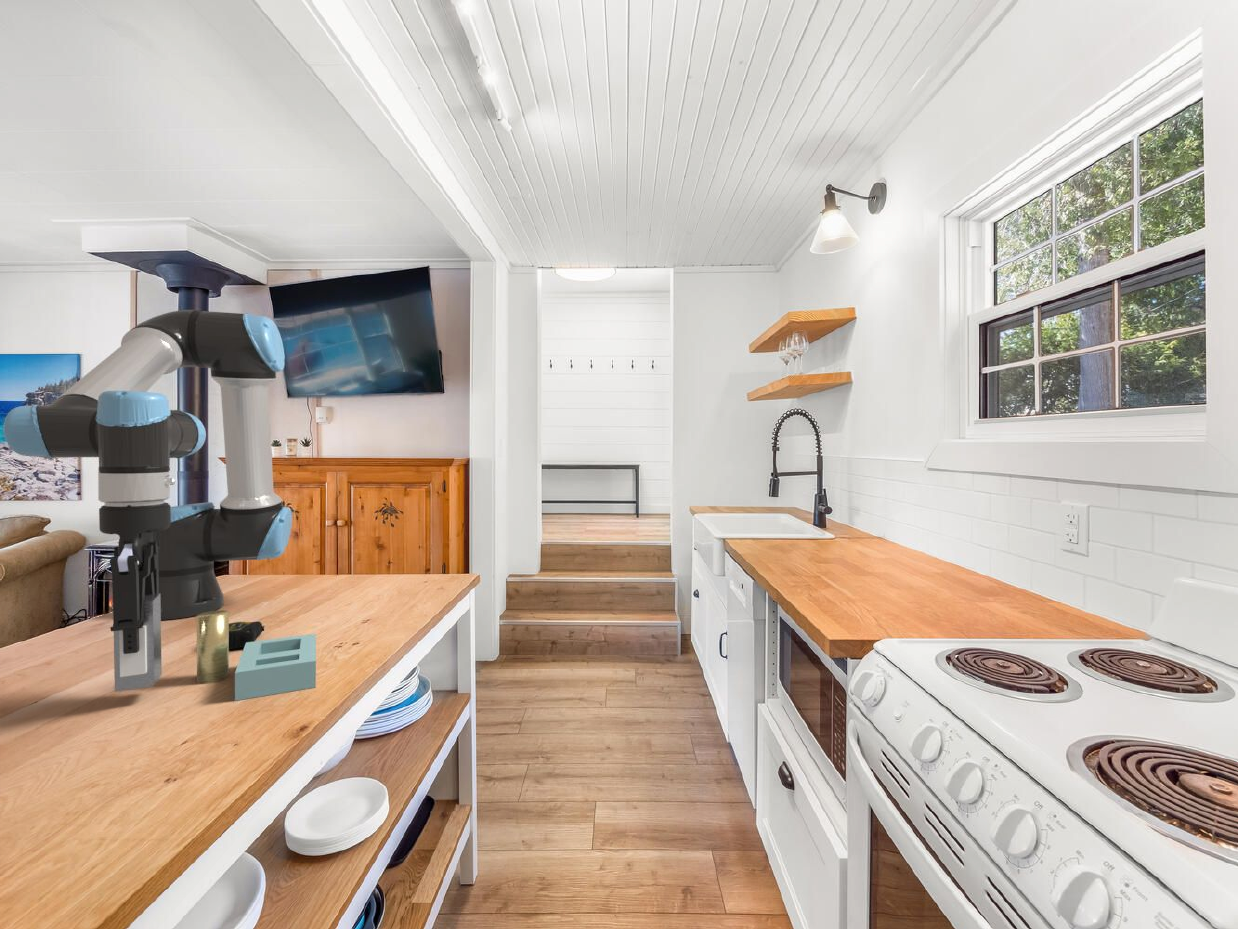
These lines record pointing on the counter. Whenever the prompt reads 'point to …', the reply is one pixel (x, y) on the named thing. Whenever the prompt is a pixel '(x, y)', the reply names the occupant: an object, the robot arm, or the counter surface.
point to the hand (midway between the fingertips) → (138, 667)
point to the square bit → (153, 649)
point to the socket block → (276, 666)
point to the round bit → (212, 646)
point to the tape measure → (244, 633)
